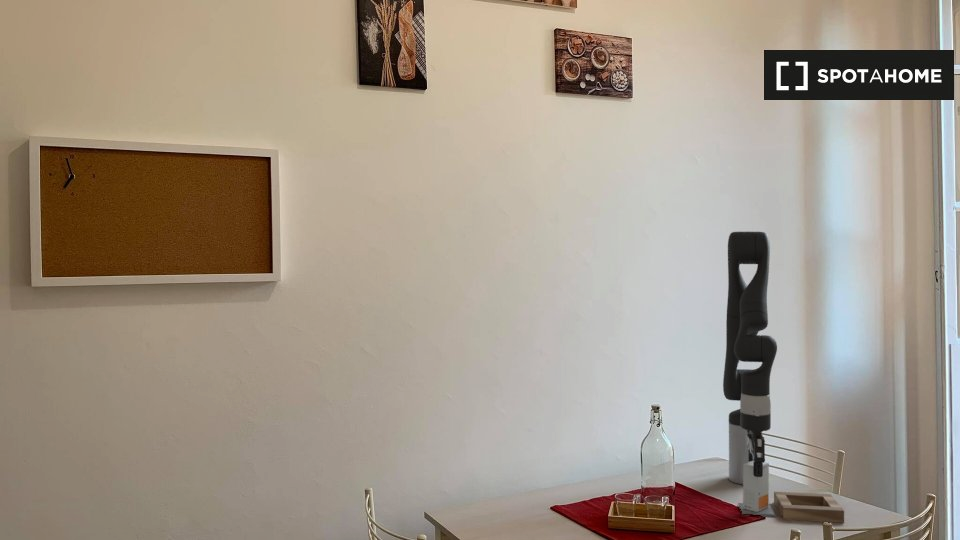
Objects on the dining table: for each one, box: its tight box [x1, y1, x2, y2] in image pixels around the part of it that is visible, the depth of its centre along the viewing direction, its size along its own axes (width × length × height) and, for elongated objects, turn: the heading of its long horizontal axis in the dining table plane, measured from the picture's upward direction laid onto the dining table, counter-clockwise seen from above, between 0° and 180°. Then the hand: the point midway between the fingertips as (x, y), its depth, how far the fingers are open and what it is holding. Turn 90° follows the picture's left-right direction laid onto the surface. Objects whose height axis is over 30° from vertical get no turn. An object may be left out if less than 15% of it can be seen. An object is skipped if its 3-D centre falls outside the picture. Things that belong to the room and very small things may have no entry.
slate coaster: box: [737, 502, 776, 518], centre depth 203 cm, size 8×8×1 cm
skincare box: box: [742, 461, 770, 512], centre depth 203 cm, size 6×4×12 cm
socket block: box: [773, 491, 845, 523], centre depth 201 cm, size 13×14×3 cm
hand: (755, 471), depth 203 cm, fingers open, 8 cm apart
